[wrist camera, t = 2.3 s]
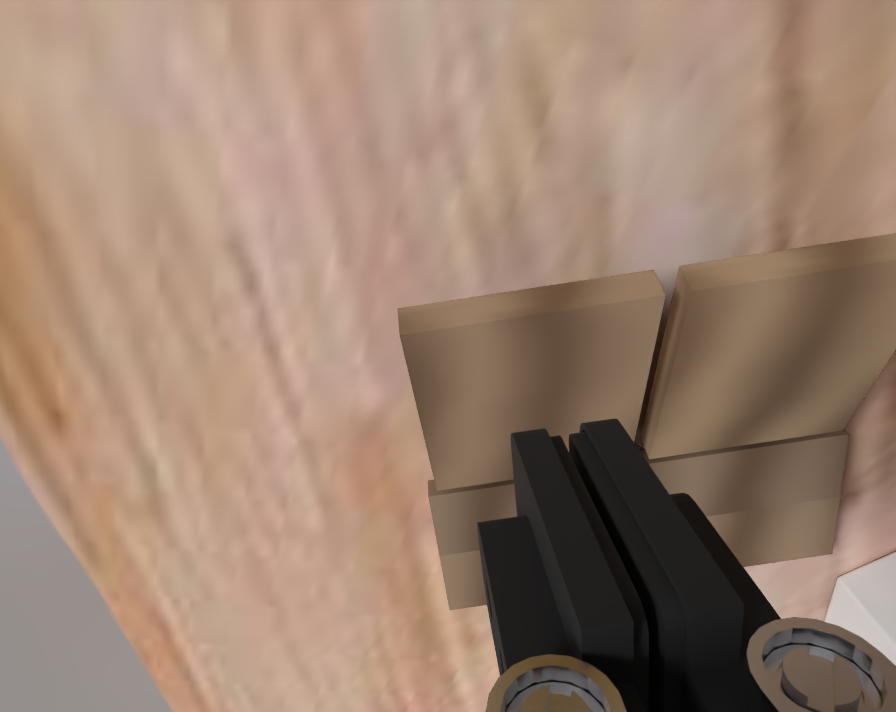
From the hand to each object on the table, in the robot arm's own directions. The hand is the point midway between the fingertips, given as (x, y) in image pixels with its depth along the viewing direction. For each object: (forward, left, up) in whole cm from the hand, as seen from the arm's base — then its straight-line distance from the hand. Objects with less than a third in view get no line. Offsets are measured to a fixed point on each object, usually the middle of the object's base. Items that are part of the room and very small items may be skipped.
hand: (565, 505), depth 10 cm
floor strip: (-7, +18, -21) cm, 28 cm away
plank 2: (-13, +7, -18) cm, 23 cm away
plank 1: (-2, +7, -18) cm, 19 cm away
